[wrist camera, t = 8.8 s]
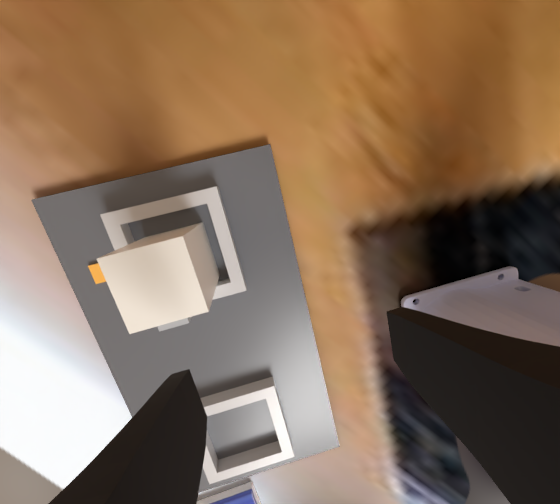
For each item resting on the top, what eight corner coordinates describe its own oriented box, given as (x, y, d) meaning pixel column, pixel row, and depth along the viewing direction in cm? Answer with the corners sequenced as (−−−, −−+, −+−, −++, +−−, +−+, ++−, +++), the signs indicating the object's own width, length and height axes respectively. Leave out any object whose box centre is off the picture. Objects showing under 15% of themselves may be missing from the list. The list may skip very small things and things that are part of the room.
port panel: (269, 145, 16) (271, 141, 15) (337, 441, 22) (344, 458, 21) (38, 199, 15) (16, 200, 14) (173, 494, 21) (167, 516, 20)
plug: (202, 222, 16) (182, 236, 11) (221, 280, 17) (211, 319, 12) (145, 237, 16) (96, 258, 11) (167, 295, 17) (132, 342, 12)
